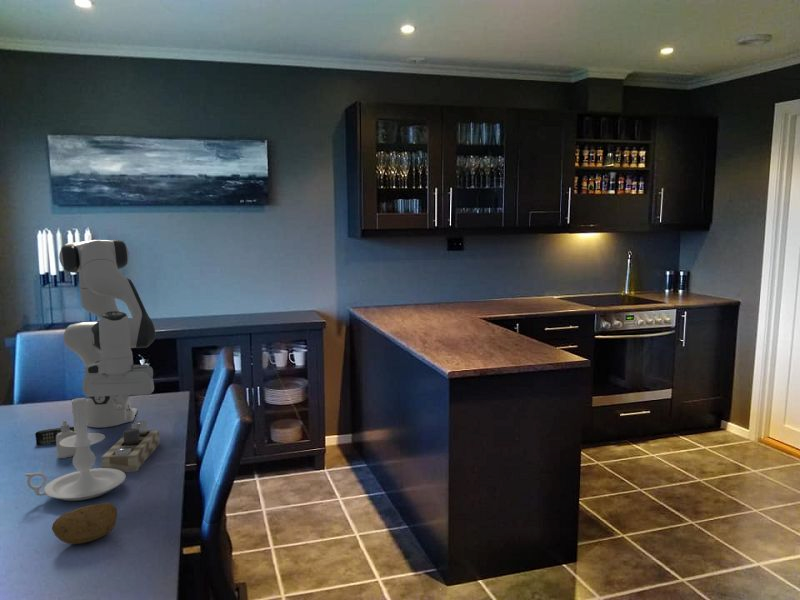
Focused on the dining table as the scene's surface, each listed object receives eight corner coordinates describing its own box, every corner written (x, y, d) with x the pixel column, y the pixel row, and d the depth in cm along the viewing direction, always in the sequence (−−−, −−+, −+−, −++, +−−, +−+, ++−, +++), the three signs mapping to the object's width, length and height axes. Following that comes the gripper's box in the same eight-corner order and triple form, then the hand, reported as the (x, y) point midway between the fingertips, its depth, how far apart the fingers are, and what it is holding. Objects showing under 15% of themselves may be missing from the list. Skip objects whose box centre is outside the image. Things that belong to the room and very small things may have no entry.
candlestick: (28, 490, 178) (19, 395, 175) (122, 473, 190) (116, 383, 186) (25, 520, 160) (16, 414, 157) (130, 498, 172) (123, 399, 169)
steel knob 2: (135, 435, 212) (134, 421, 211) (149, 434, 212) (148, 420, 211) (130, 439, 207) (129, 425, 207) (144, 439, 208) (143, 424, 207)
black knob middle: (127, 443, 204) (126, 428, 203) (141, 443, 204) (140, 428, 204) (122, 448, 199) (121, 433, 199) (136, 448, 200) (135, 432, 199)
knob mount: (129, 445, 214) (128, 431, 213) (159, 444, 214) (158, 430, 214) (102, 473, 190) (101, 457, 189) (136, 471, 191) (135, 455, 190)
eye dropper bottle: (76, 457, 203) (73, 421, 202) (56, 459, 201) (53, 423, 200) (77, 452, 207) (75, 417, 206) (58, 454, 205) (56, 419, 204)
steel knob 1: (118, 461, 196) (117, 446, 196) (134, 461, 197) (133, 446, 196) (113, 467, 192) (112, 451, 191) (129, 466, 192) (127, 451, 191)
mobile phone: (34, 432, 214) (83, 426, 219) (36, 430, 216) (84, 423, 222) (36, 446, 214) (84, 439, 220) (37, 443, 217) (85, 437, 222)
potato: (51, 540, 149) (48, 509, 148) (114, 524, 157) (112, 494, 156) (56, 558, 141) (53, 525, 140) (122, 540, 149) (120, 508, 148)
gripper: (155, 361, 194) (158, 404, 196) (87, 363, 193) (90, 407, 194) (149, 366, 188) (152, 411, 190) (78, 368, 186) (82, 413, 188)
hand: (120, 409), depth 192 cm, fingers closed
